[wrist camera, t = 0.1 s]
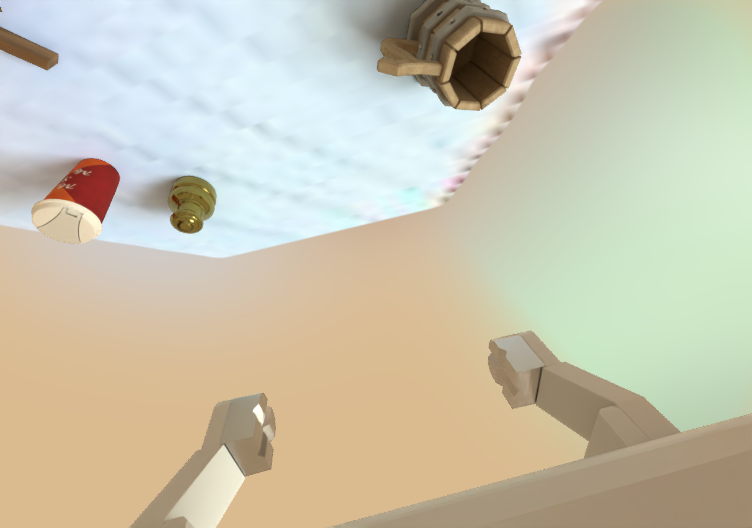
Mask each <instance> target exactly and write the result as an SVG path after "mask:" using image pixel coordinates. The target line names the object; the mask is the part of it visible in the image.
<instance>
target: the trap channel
mask: <svg viewBox="0 0 752 528" xmlns="http://www.w3.org/2000/svg"><path fill="white" fill-rule="evenodd" d="M0 50H3V51H5V52H7V53H9V54H12V55H14V56H16V57H18V58H21V59H23V60H25V61H27V62H30V63H32V64H34V65H36V66H39V67H41V68H43V69H45V70H49V69H50V68H52V67H53V66H54V65H56V64H57V63H58V54H57V53H55V52H53V51H50V50H48V49H46V48H44V47H42V46H40V45H38V44H36V43H33V42H31V41H29V40H27V39H25V38H23V37H21V36H19V35H16V34H14V33H12V32H10V31H8V30H6V29H4V28H1V27H0Z"/></svg>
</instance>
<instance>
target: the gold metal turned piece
mask: <svg viewBox="0 0 752 528" xmlns="http://www.w3.org/2000/svg"><path fill="white" fill-rule="evenodd" d="M215 204H216V192H215V190H214V188H213V187H212V186H211V185H210V184H209V183H208V182H207V181H205V180H203V179H201V178H198V177H193V176H186V177H182V178H180V179H178V180H177V181H176V182H175V183H174V185H173V187H172V189H171V192H170V195H169V197H168V205H169V208H170V210H171V211H172V212H173V214H172V215H171V217H170V222H171V225H172V226H173V227H174V228H175V229H176V230H178V231H180V232H183V233H188V234H193V233H197V232H199V231H200V230H201V229H202V227H203V221H205V220H207V219H209V218H210V217H211V216H212V215H213V213H214V209H215Z"/></svg>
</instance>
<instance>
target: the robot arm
mask: <svg viewBox="0 0 752 528" xmlns="http://www.w3.org/2000/svg"><path fill="white" fill-rule="evenodd" d="M489 349H490V350H491V352H492V353H491V354H490V355H489V357H488V365H489V369H490V372H491V374H492V377H493V378H494V380H495V382H496V383H498V384H500V385H501V386H503V391H502V393H503V395H504V396H505V398H506V399H507V401H508V403H509V404H510V406H511V407H512V409H513V408H518V407H522V406H527V405H532V404H536V405H537V406H538V407H539V408H541V409H542V410H544V411H545V412H547V413H548V414H550V415H551V416H553V417H554V418H556V419H557V420H558V421H560V422H561V423H563V424H564V425H566V426H567V427H569V428H570V429H572V430H573V431H575V432H576V433H577V434H579V435H580V436H582V437H583V438H585V439H586V440H588V441H589V443H588V446H587V449H586V453H585V456H584V459H581V460H577V461H573V462H570V463H566V464H562V465H559V466H555V467H551V468H547V469H544V470H540V471H537V472H533V473H529V474H525V475H522V476H518V477H514V478H511V479H507V480H503V481H499V482H496V483H492V484H488V485H485V486H481V487H477V488H473V489H469V490H466V491H462V492H458V493H454V494H451V495H447V496H443V497H440V498H436V499H432V500H428V501H425V502H421V503H417V504H414V505H410V506H406V507H402V508H399V509H395V510H392V511H388V512H384V513H380V514H377V515H373V516H369V517H365V518H362V519H358V520H354V521H351V522H347V523H343V524H339V525H336V526H332V527H329V528H752V414H748V415H744V416H740V417H737V418H733V419H729V420H726V421H722V422H718V423H715V424H711V425H707V426H703V427H699V428H696V429H692V430H689V431H685V432H680V431H679V430H678V429H677V428H676V427H675V426H674V425H673V424H672V423H670V421H668V420H667V419H666V418H665V417H664V416H663V415H662V414H661V413H660V412H659V411H658V410H657V409H656V408H655V407H654V406H653V405H651V404H650V403H649V402H648V401H647V400H646V399H645V398H644V397H642V396H640V395H638V394H636V393H634V392H631V391H629V390H627V389H625V388H622V387H620V386H618V385H615V384H613V383H611V382H609V381H607V380H604V379H602V378H600V377H597V376H595V375H593V374H591V373H589V372H587V371H584V370H582V369H580V368H578V367H575V366H573V365H571V364H569V363H566V362H562V363H561V362H560V361H559V360H558V359H557V358H556V356H555V355H553V353H552V352H551V351H550V350H549V349H548V348H547V347H546V346H545V344H544V343H543V342H542V341H541V340H540V339H539V338H538V337H537V336H536V335H535V334H534V332H532V331H526V332H522V333H518V334H513V335H509V336H505V337H501V338H497V339H493V340H490V343H489ZM275 429H276V426H275V417H274V413H273V410H272V408H270V407H269V406H267V398H266V396H265V394H264V393H260V394H256V395H251V396H245V397H241V398H236V399H232V400H227V401H222V402H218V403H217V404H216V406H215V407H214V410H213V413H212V417H211V420H210V423H209V426H208V429H207V432H206V436H205V439H204V442H203V445H202V449H201V450H198V451H196V452H195V453H194V454H193V455H192V457H191V458H190V459H189V460H188V461H187V462H186V463H185V465H184V466H183V467H182V468H181V469H180V470H179V471H178V473H177V474H176V475H175V476H174V477H173V478H172V479H171V481H170V482H169V483H168V484H167V485H166V486H165V487H164V489H163V490H162V491H161V492H160V493H159V494H158V495H157V497H156V498H155V499H154V500H153V501H152V502H151V503H150V504H149V506H148V507H147V508H146V509H145V510H144V511H143V512H142V514H141V515H140V516H139V517H138V518H137V520H135V522H134V523H133V524H132V525H131V526H130V527H129V528H216V526H217V525H218V523H219V521H220V520H221V518H222V516H223V515H224V513H225V511H226V510H227V508H228V506H229V504H230V503H231V501H232V499H233V498H234V496H235V494H236V493H237V491H238V489H239V488H240V486H241V484H242V482H243V481H244V479H245V476H249V475H252V474H256V473H259V472H263V471H267V470H270V469H271V466H272V457H273V447H272V445H271V443H270V442H271V441H272V439H273V438H274V437H275Z"/></svg>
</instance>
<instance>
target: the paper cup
mask: <svg viewBox="0 0 752 528" xmlns="http://www.w3.org/2000/svg"><path fill="white" fill-rule="evenodd" d="M119 181H120V176H119V173H118V172H117V170H116V169H115V168H114V167H113V166H112V165H110V164H109V163H107V162H105V161H102V160H99V159H93V158H90V159H85V160H83V161H81V162H80V163H79V164H78V165H77V166H76V167H75V168H74V169H73V170H72V171H71V172H70V173H69V174H68V175H67V176H66V177H65V178H64V179H63V180H62V181H61V182H60V183H59V184H58V185H57V186H56V187H55V188H54V189H53V190H52V191H51V192H50V193H49V194H48V196H47V197H46V198H45V199H44V200H42V201H39V202H37V203H36V204H35V205H34V206H33V207H32V222H33V224H34V226H35V227H37V229H38V230H39V231H40V232H42V233H43V234H44V235H46V236H48V237H50V238H52V239H55V240H57V241H61V242H64V243H72V244H79V243H85V242H88V241H90V240H92V239H94V238H96V237H97V236H99V234H100V233H101V231H102V222H103V220H104V218H105V215H106V213H107V211H108V208H109V206H110V204H111V201H112V199H113V196H114V194H115V192H116V189H117V187H118V184H119Z"/></svg>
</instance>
